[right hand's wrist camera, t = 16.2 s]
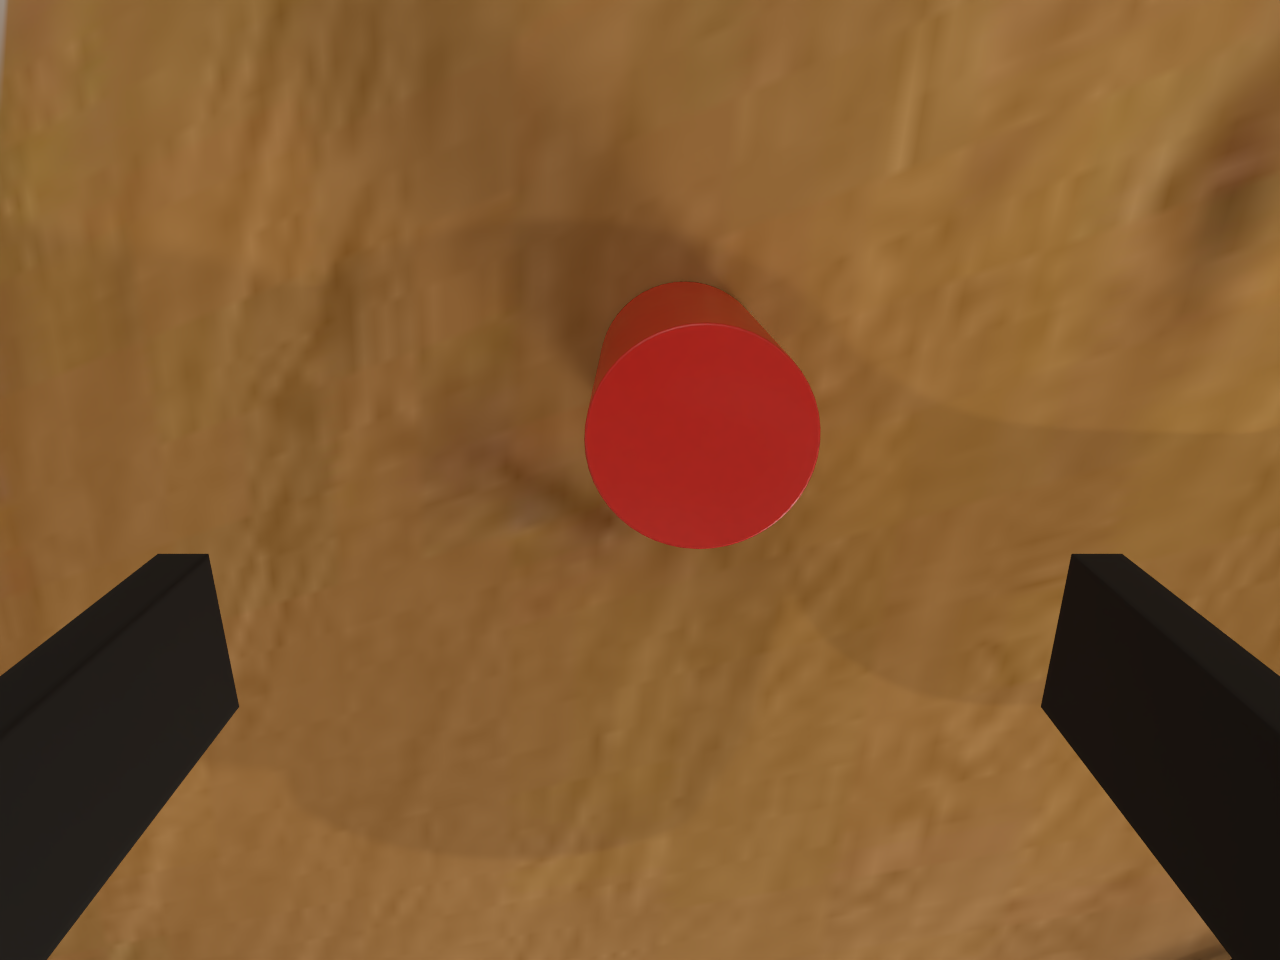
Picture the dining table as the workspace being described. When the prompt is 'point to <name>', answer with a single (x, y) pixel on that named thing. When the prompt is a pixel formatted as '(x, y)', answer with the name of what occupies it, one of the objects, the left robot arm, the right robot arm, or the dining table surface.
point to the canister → (698, 420)
